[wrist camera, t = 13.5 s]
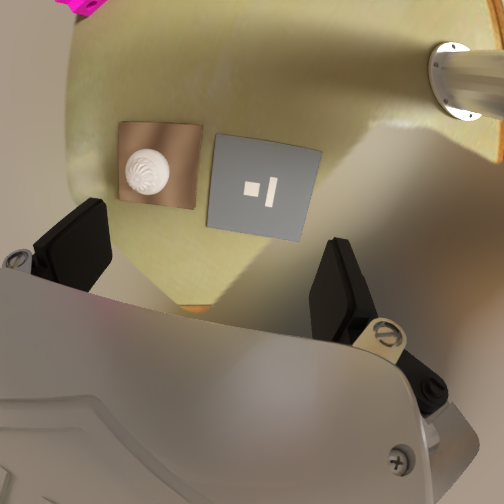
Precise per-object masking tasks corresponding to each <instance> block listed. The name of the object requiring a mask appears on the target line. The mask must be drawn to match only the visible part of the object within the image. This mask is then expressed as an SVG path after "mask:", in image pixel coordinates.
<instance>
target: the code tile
mask: <svg viewBox="0 0 504 504" xmlns="http://www.w3.org/2000/svg"><path fill="white" fill-rule="evenodd" d="M321 154H322V152H321V151H317V150H312V149H308V148H303V147H298V146H293V145H288V144H282V143H277V142H271V141H265V140H259V139H253V138H246V137H239V136H231V135H223V134H216V141H215V150H214V159H213V168H212V177H211V187H210V198H209V209H208V221H207V227H208V228H214V229H221V230H227V231H234V232H240V233H246V234H253V235H259V236H265V237H271V238H277V239H284V240H290V241H295V242H300V238H301V234H302V230H303V227H304V223H305V219H306V215H307V211H308V208H309V204H310V200H311V196H312V192H313V188H314V184H315V180H316V175H317V171H318V167H319V163H320V159H321Z"/></svg>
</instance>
